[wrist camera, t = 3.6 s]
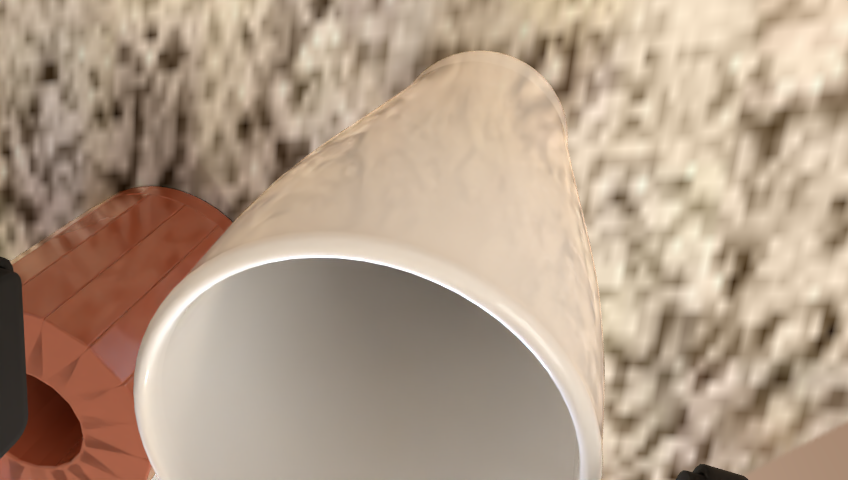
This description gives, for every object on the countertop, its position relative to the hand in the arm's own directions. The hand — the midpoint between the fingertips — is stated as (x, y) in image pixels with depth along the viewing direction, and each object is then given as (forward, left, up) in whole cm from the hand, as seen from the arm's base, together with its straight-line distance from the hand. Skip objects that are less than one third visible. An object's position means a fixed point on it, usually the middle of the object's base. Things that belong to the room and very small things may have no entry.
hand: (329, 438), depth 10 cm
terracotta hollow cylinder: (+10, +11, -15) cm, 21 cm away
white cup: (0, 0, -15) cm, 15 cm away
